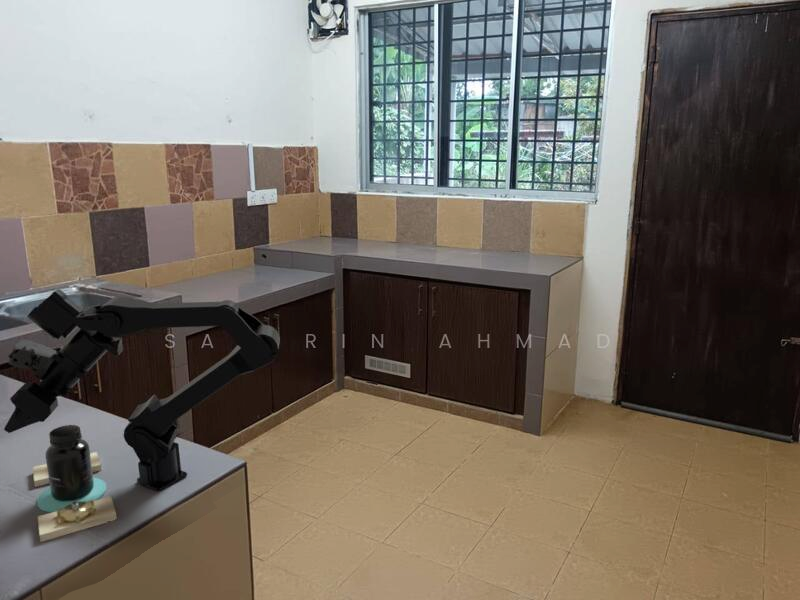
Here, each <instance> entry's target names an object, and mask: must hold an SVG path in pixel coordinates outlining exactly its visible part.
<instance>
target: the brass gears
mask: <svg viewBox="0 0 800 600" xmlns="http://www.w3.org/2000/svg"><path fill="white" fill-rule="evenodd" d="M72 502H73V503H72V504H70V505H68V506H66V507H64V508H63V509H58V510H57V516H61V517H60V518H58V523H59V524H60V525H62V524H64V523H75V522H76V523H77V524H80V523H81V521H82V520H84V519H86V518H88V517H89V516H90V515H95V514H96V508H92V507H93V506H94V501H93V500H90V501H88V502H77V501H76V500H75V501H72Z"/></svg>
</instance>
